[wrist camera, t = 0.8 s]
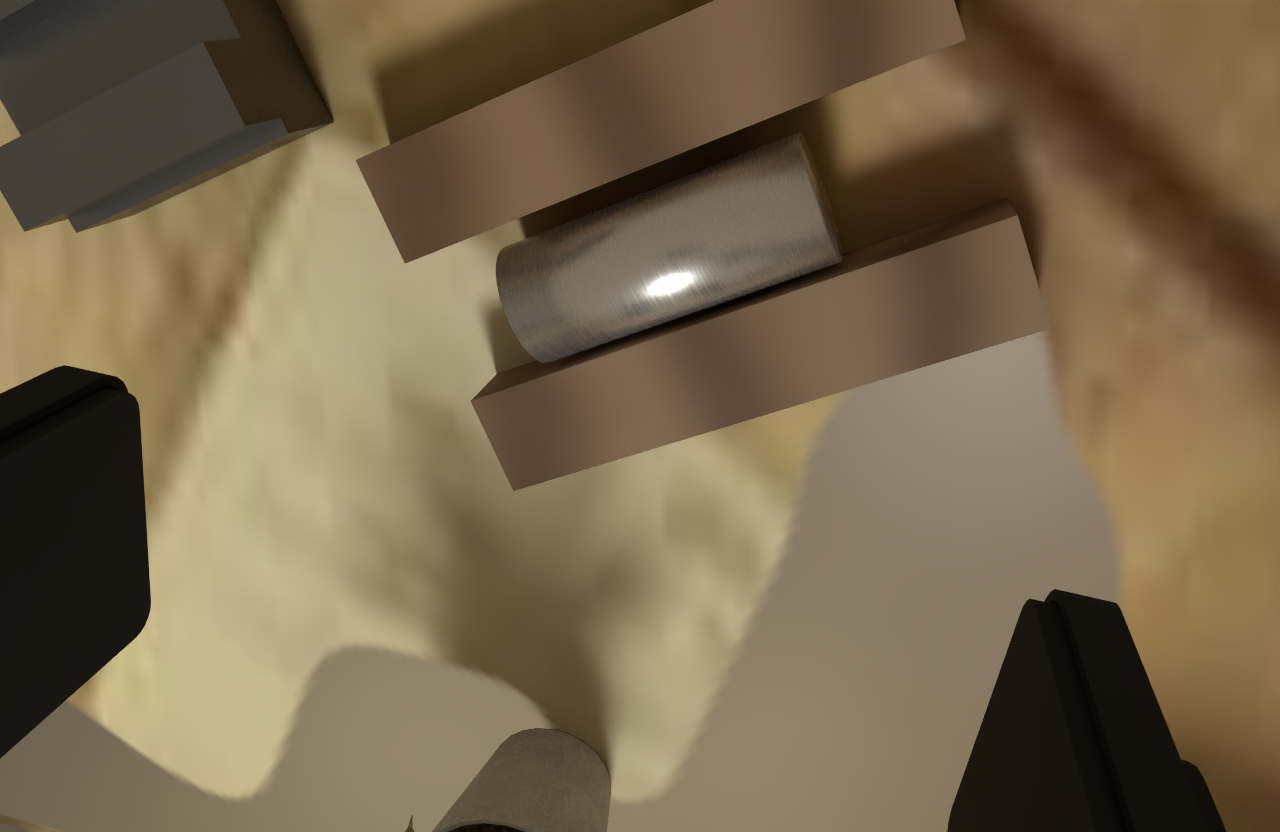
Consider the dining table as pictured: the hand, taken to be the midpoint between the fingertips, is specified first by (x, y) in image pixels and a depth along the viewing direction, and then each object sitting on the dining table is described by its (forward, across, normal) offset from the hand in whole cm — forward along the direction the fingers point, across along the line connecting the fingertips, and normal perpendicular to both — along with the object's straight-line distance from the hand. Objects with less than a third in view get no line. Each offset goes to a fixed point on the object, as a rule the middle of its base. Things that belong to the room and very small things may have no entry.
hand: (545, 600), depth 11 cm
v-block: (+24, +21, -1) cm, 32 cm away
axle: (+25, +3, +2) cm, 25 cm away
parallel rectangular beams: (+24, +2, +2) cm, 25 cm away
